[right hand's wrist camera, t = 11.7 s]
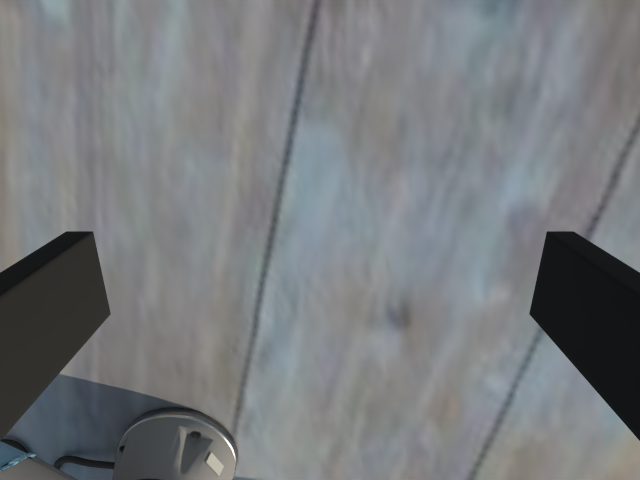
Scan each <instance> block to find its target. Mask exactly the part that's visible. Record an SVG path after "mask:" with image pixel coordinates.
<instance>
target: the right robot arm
mask: <svg viewBox="0 0 640 480" xmlns="http://www.w3.org/2000/svg"><path fill="white" fill-rule="evenodd" d="M109 315H110V309H109V304H108V300H107V295H106V290H105V286H104V281H103V276H102V272H101V267H100V262H99V257H98V253H97V248H96V243H95V239H94V234H93V232H65V233H63V234H62V235H60V236H59V237H57V238H55V239H54V240H52V241H51V242H49V243H47V244H46V245H44V246H43V247H41V248H39V249H38V250H36V251H35V252H33V253H31V254H30V255H28V256H27V257H25V258H23V259H22V260H20V261H18V262H17V263H15V264H14V265H12V266H10V267H9V268H7V269H6V270H4V271H2V272H1V273H0V480H77V479H75V478H73V477H71V476H70V475H68V474H66V473H64V472H62V471H60V470H59V468H60V466H61V464H62V463H67V462H70V463H75V464H79V465H83V466H89V467H98V468H108V469H114V473H113V480H232V479H233V477H234V474H235V470H236V466H237V460H238V451H237V447H236V444H235V441H234V440H233V438H232V436H231V435H230V433H229V432H228V431H227V430H226V429H225V428H224V427H223V426H222V425H221V424H220V423H218V422H217V421H215V420H214V419H212V418H210V417H209V416H206V415H204V414H202V413H199V412H196V411H192V410H188V409H181V408H165V409H158V410H154V411H151V412H148V413H146V414H144V415H142V416H140V417H138V418H137V419H136V420H134V421H133V422H132V423H131V424H130V426H129V427H128V428H127V430H126V431H125V433H124V435H123V437H122V439H121V441H120V443H119V446H118V449H117V453H116V460H115V462H104V461H94V460H88V459H84V458H80V457H75V456H64V457H61V458H59V459H58V460H57V461H56V462H55V464H54V467H53V466H51V465H49V464H48V463H46V462H44V461H42V460H40V459H38V458H36V455H35V454H33V453H28V451H27V450H26V449H25V447H23V446H22V445H21V444H20V443H18V442H16V441H13V440H6V439H3V440H1V439H2V438H3V437H4V436H5V435H6V433H7V432H8V431H9V430H10V429H11V428H12V427H13V425H14V424H15V423H16V422H17V421H18V420H19V419H20V417H21V416H22V415H23V414H24V413H25V412H26V411H27V409H28V408H29V407H30V406H31V405H32V404H33V402H34V401H35V400H36V399H37V398H38V397H39V396H40V394H41V393H42V392H43V391H44V390H45V389H46V388H47V386H48V385H49V384H50V383H51V382H52V381H53V380H54V378H55V377H56V376H57V375H58V374H59V373H60V371H61V370H62V369H63V368H64V367H65V366H66V365H67V363H68V362H69V361H70V360H71V359H72V358H73V357H74V355H75V354H76V353H77V352H78V351H79V350H80V349H81V347H82V346H83V345H84V344H85V343H86V342H87V340H88V339H89V338H90V337H91V336H92V335H93V334H94V332H95V331H96V330H97V329H98V328H99V327H100V326H101V324H102V323H103V322H104V321H105V320H106V319H107V318H108V316H109ZM530 315H531V316H532V318H533V319H534V320H535V321H536V322H537V323H538V324H539V326H540V327H541V328H542V329H543V330H544V331H545V332H546V334H547V335H548V336H549V337H550V338H551V339H552V340H553V342H554V343H555V344H556V345H557V346H558V347H559V349H560V350H561V351H562V352H563V353H564V354H565V355H566V357H567V358H568V359H569V360H570V361H571V362H572V363H573V365H574V366H575V367H576V368H577V369H578V370H579V371H580V373H581V374H582V375H583V376H584V377H585V378H586V380H587V381H588V382H589V383H590V384H591V385H592V386H593V388H594V389H595V390H596V391H597V392H598V393H599V394H600V396H601V397H602V398H603V399H604V400H605V401H606V402H607V404H608V405H609V406H610V407H611V408H612V409H613V411H614V412H615V413H616V414H617V415H618V416H619V417H620V419H621V420H622V421H623V422H624V423H625V424H626V425H627V427H628V428H629V429H630V430H631V431H632V432H633V433H634V435H635V436H636V437H637V438H638V439H639V440H640V273H639V272H638V271H636V270H634V269H633V268H631V267H630V266H628V265H626V264H625V263H623V262H622V261H620V260H618V259H617V258H615V257H613V256H612V255H610V254H609V253H607V252H605V251H604V250H602V249H601V248H599V247H597V246H596V245H594V244H593V243H591V242H589V241H588V240H586V239H585V238H583V237H581V236H580V235H578V234H577V233H575V232H547V234H546V239H545V243H544V248H543V253H542V257H541V262H540V267H539V272H538V276H537V281H536V286H535V290H534V295H533V300H532V304H531V309H530Z"/></svg>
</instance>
